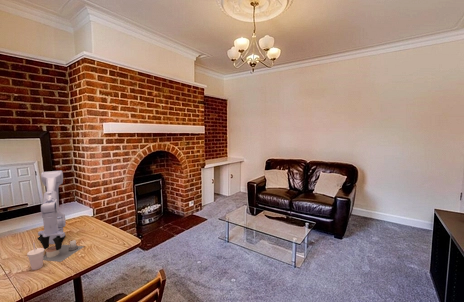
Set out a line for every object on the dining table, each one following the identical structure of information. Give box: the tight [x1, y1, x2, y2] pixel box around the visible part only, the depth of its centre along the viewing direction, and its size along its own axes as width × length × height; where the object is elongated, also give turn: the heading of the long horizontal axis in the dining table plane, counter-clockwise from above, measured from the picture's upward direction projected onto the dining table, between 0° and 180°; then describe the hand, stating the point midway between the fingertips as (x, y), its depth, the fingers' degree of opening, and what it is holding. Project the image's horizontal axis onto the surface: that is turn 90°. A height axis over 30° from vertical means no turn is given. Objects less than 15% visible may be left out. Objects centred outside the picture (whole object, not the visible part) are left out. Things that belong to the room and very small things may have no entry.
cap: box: [45, 245, 59, 258], centre depth 117 cm, size 5×5×4 cm
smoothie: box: [26, 242, 46, 271], centre depth 106 cm, size 6×6×14 cm
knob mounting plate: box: [43, 239, 85, 263], centre depth 119 cm, size 14×15×6 cm
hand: (52, 248), depth 116 cm, fingers open, 7 cm apart
